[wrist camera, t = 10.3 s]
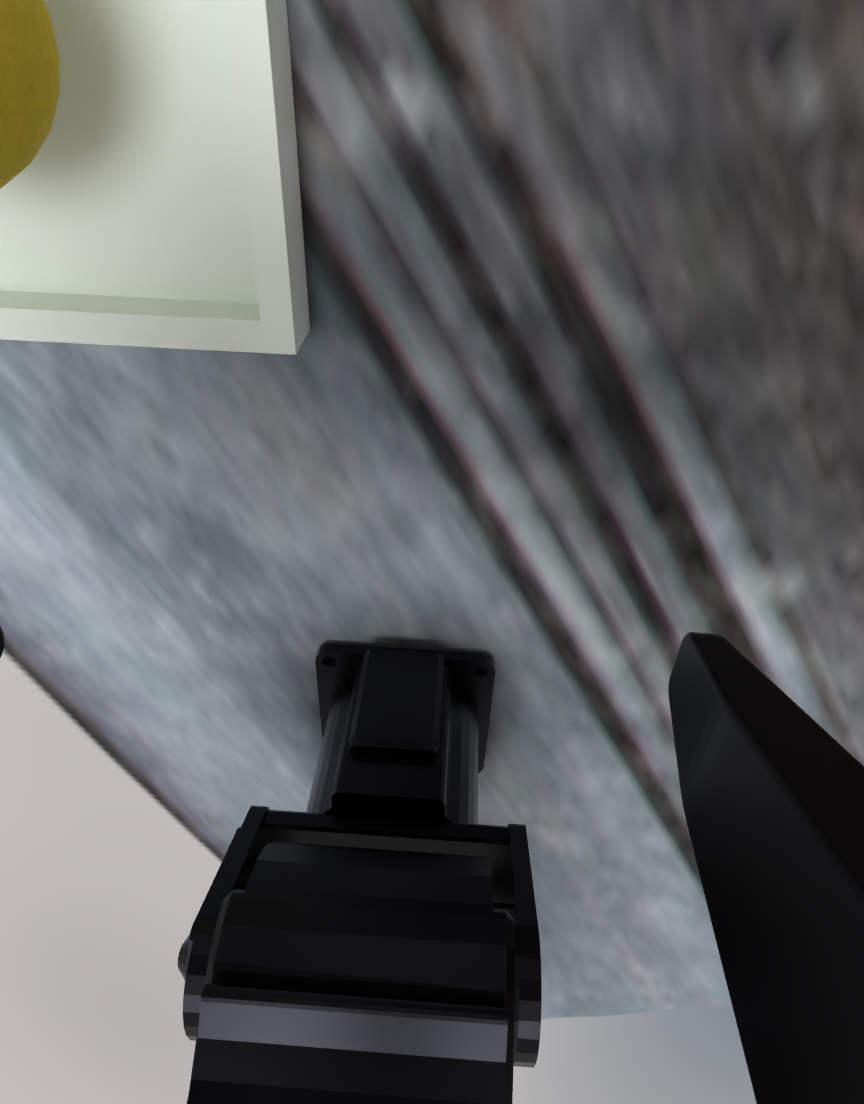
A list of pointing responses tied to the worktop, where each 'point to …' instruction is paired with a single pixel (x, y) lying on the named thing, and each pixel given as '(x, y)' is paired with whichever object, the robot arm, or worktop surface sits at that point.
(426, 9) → the worktop surface
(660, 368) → the worktop surface
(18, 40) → the lemon
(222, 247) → the tray
